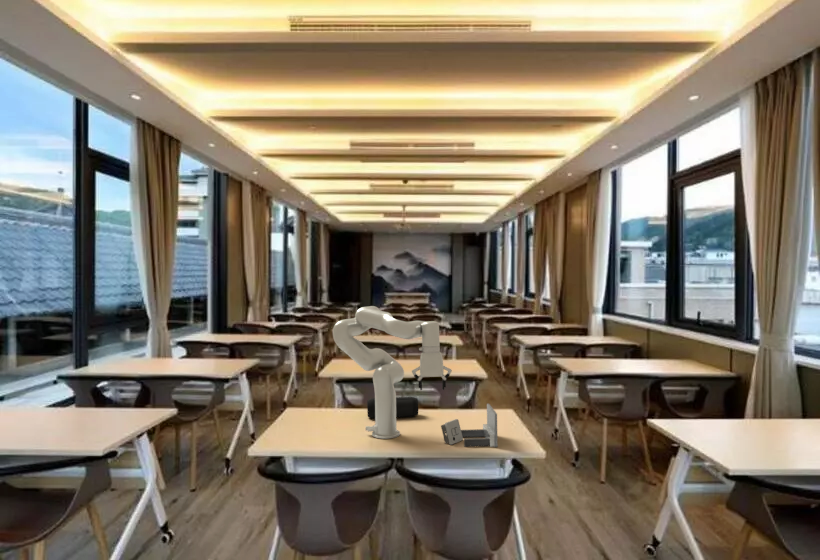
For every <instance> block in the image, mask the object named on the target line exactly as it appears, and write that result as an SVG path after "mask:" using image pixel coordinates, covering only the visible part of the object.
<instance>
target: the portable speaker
mask: <svg viewBox="0 0 820 560" xmlns="http://www.w3.org/2000/svg"><path fill="white" fill-rule="evenodd" d="M366 405H367V406H366V407H367V409H366V411H367V417H368V418H371V419H375V397H374V398H373V397H372V398H369V399H368V400H367V403H366ZM418 415H419V400H418V398H417V397H414V396H398V397H397V396H396V417H398V418H411V417H412V418H413V417H416V416H418Z"/></svg>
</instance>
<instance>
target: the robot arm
mask: <svg viewBox="0 0 820 560" xmlns="http://www.w3.org/2000/svg"><path fill="white" fill-rule="evenodd" d="M371 328H372V329H376V330H378V331H382V332H385V333H386V334H387V335H391V336H392V337H395V338H400V339H403V340H413V339H417V338H421V345H422V346H421V347H418V350H419V351H421V353H420V358H419V366H417V367H415V368H414V369H412V370H411V373H412V375H413V377H414V378H415V379H416V380H417V381H418V389H420V391H422V390H423V382H422V379H423V378H430V377H431V378H432V377H433V378H434V377H435V378H436V377H441V378H442V379H441V385H442V386H441V389H442V390H443V391H445V388H447V386H446V385H447V384H446V381H447V379H448V378H449V377H450V375H451V373H452V368H449V367H447V366H446V365H444V358H443V353H442V352H441V349H440V348H441V347H440V345H441V344H440V342H441V341H440V324H439V322H438V321H433V320H431V321H429V320H428V321H425V320H413V321H412V320H411V321H410V320H409V321H404V320H400V319H396V318H394V317H393V315H392V314H391V313H390V312H388V311H384V310H383V311H382V310H381V308H379V307H377V306H374V305H370V306H362V307H360V308H358V309H357V310H356V312H355V315H354V317H353V318H346V319H341V320H338V321H337V322H336V323H335V324H334V325H333V328H332V338H333V341H334V343H335V344H336V346H337V347H338V348H339V349H340V350H341V351H342V352H344V354H346V355H348V357H349V358H350V359H351V360H353V361H354V362H355V364H357V365H358V366H359V367H360V368H361V369H363V371H367V372H371V371H373V374H372V382H373V383H372V384H373V388H374V389H373V390H374V398H375V418H374V421H375V422H374V425H371V426H370V425H369V426H368V425H365V431H366V432H371V436H372V437H374V438H377V439H383V440H385V439H395V438H397V437H399V436H400V435H401V431H399V430H398V429H397V427H398V426H397V418H396V397H397V392H396V389H395V386H394V384H395V385H396V384H397V383H399V382H401V381H402V380H403V379H404V376H405V370H404V367H403V366H402V365H401V364H400V363H399V362H398V361H397V360H396V359H395V358H393V356H391V355H390V354H389V353H388V352H387V351H385V350H384V349H382V348H379V347H378V348H377V347H375V348H369V347H367V345H364V344H363V342H361V341H360V340H359V339H357V338H356V337H357V336H360V335H362V334H363V333H365V332H367V331H369V329H371ZM444 370H445V371H447V373H446V374H444V373H445V371H444ZM418 371H419V375H418V374H417V372H418Z"/></svg>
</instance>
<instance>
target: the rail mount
mask: <svg viewBox="0 0 820 560" xmlns="http://www.w3.org/2000/svg"><path fill="white" fill-rule="evenodd" d="M461 432H462V436H463V446H464V448H466V447H467V448H469V447H471V448H472V447H473V448H474V447H475V446H476V447H477V446H478V447H490V448H496V447H498V413H497V412H496V410H495V409H494V408H493V406H491V403H486V423H484V424H482V429H461ZM484 437H485V438H484Z"/></svg>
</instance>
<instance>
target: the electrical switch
mask: <svg viewBox="0 0 820 560" xmlns="http://www.w3.org/2000/svg"><path fill="white" fill-rule="evenodd" d="M440 428H441V432H442V436H443V441H444V444H449V445H450V446H451V445H454V444H456V443H460V442H462V441H464V437H463V436H462V432H461V430H462V428H461V425H460V421H459V418H458V419H457V418H455V419H452V420H450V421H447V422H445V423H443V424H441V425H440Z"/></svg>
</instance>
